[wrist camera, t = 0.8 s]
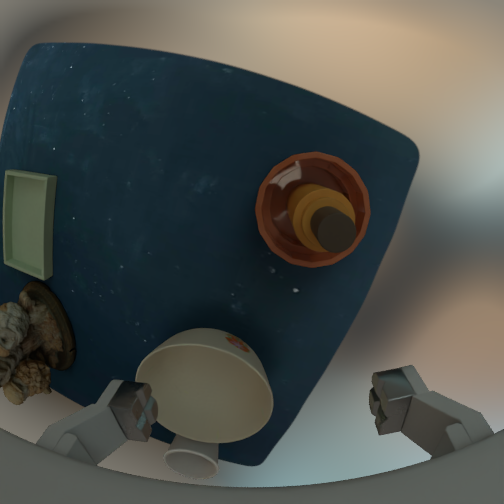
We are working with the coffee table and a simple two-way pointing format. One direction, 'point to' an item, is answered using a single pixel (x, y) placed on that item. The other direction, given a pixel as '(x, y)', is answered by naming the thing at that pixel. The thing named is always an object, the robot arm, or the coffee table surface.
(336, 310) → the coffee table surface
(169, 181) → the coffee table surface
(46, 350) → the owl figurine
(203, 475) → the dixie cup
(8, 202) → the tray
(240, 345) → the bowl
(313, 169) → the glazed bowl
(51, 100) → the coffee table surface
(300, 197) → the bottle
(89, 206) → the coffee table surface
